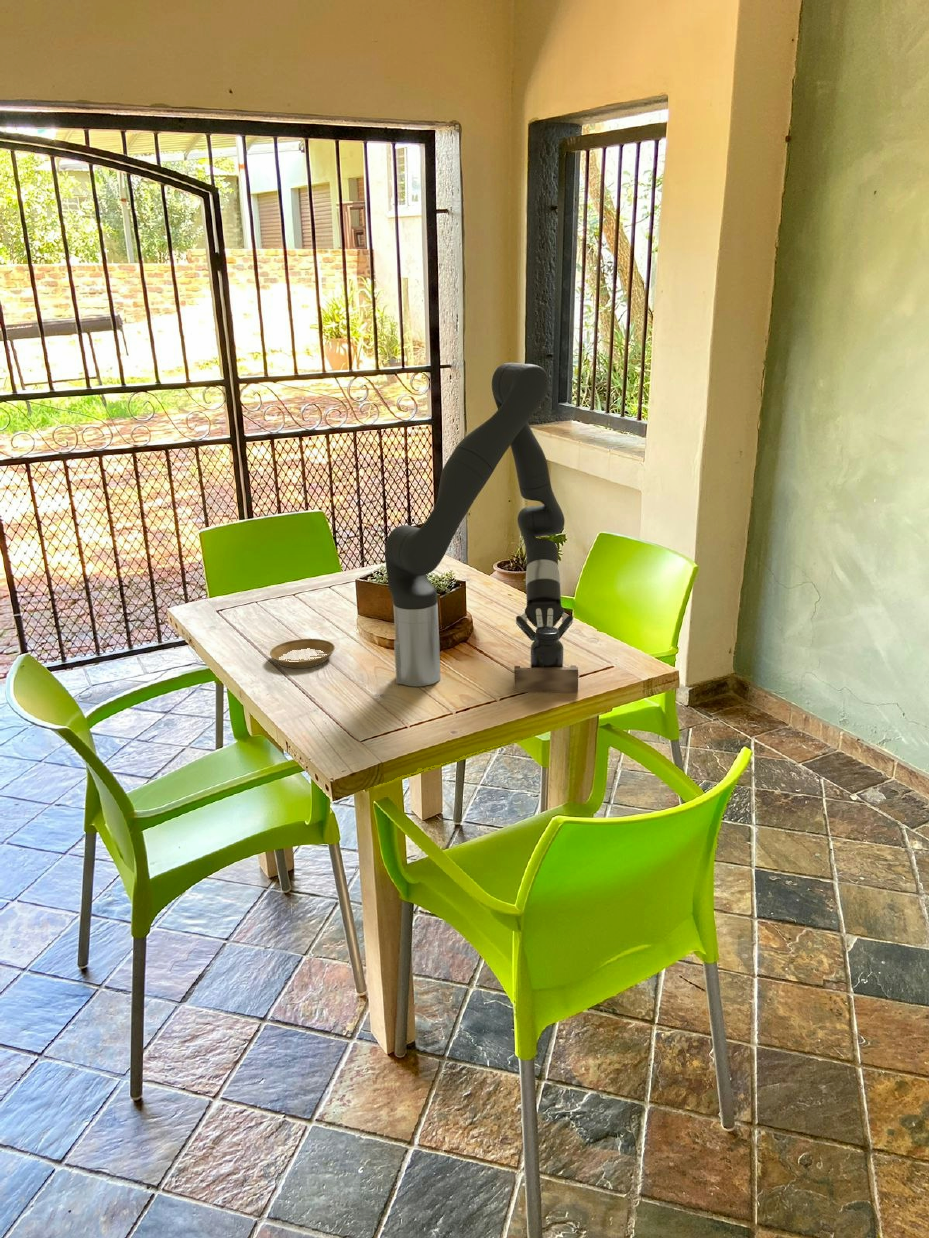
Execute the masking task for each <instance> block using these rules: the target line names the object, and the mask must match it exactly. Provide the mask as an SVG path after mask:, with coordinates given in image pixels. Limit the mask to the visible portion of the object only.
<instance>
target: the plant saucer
mask: <svg viewBox="0 0 929 1238" xmlns="http://www.w3.org/2000/svg"><path fill="white" fill-rule="evenodd" d="M307 648H310V649H315V650H321V651H323V652H324V653H319V654H327V655H325V656H324V655H323V656H322V655H317V656H310V657H321V658H316V659H315V658H314V659H310V660H309V659H308V660H304V659H301V660H300V659H299V660H291V659H287V661H286V659H285V660H279V657H281V656H283V654H287V653H288V652H290V651H292V650H301V649H307ZM335 649H336V647H335V645H334V643H333V642H331V641H330V640H325V639H320V638H300V639H299V638H298V639H294V640H289V641H286V642H282V643H280V644H277V645H276V646H274V647H272V648H271V650H270V652H269V656H270V657H271V659H273V660H274V661H275V662H277V664H279V665H281V666H282V667H284V668H288V667H290V668H289V669H306V668H305V667H307V668H312V666H313V667H316V666H318V665H321V664H323V663H325V662H326V661H327V660H328V659H329V658H330V657H331V656H332V654H333V653H334V651H335ZM317 654H318V653H317ZM288 660H289V661H299V662H289V661H288ZM324 661H325V662H324Z"/></svg>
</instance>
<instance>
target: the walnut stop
mask: <svg viewBox="0 0 929 1238" xmlns="http://www.w3.org/2000/svg"><path fill="white" fill-rule="evenodd" d="M513 668H514V669H513V670H514V672H513V673H514V674H513V675H514V678H513V679H514V693H578V692H579V667H577V665H570V667H569V666H568V667H564V666H563V667H550V668H530V667H521V665H514V666H513ZM560 691H561V692H560ZM577 691H578V692H577Z"/></svg>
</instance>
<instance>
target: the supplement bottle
mask: <svg viewBox="0 0 929 1238" xmlns="http://www.w3.org/2000/svg"><path fill="white" fill-rule="evenodd" d="M535 633H536V636H535V638H536V640H535V641H532V643H531V645H530V664H529V665H530V666H529V668H550V667H564V644H563V643H562V642H561V641H560V639H559V630H558V627H556V626H554V627H550V626H545V627H539V628H537V627H536V629H535Z"/></svg>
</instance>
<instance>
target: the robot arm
mask: <svg viewBox="0 0 929 1238" xmlns="http://www.w3.org/2000/svg"><path fill="white" fill-rule="evenodd" d="M549 385H550V383H549V375H548V373H547V372H546V370H545V369H544V368H543V367H541V366H539V365H537V364H532V363H520V362H506V363H502V364H500V365H499V366H498V367H497V368H496V369H495V371H494V372H493V375H492V379H491V391H492V395H493V399H494V402H495V405H496V407H497V411H496V412H495V413H494V414H493V415H492V416H491V417H489V419H487V420H486V421H485V422H483V423H482V424H480V425H479V426H478V427H476V428H475V429H473V430H472V431H471V432H470V433H468V434H467V435H466V436H465V437H464V438H462V439H461V441H460V442H459V443H458V444H457V445H456V447H455V449H454V450H453V451H452V452H451V455H450V456H449V458H448V460H446V462H445V464H444V466H443V468H442V470H441V473H440V480H439V485H438V486H439V487H438V494H437V499H436V503H435V504H434V507H433V509H432V510H431V512H430V513H429V516H428V517H427V518H426V520H425V522H424V523H423V524H422V526H420V527H416V526H412V525H408V524H407V525H406V524H403V525H399V526H397V527H395V528H394V529H393V530H392V531H390V533H389V535H388V537H387V539H386V542H385V548H384V556H385V557H384V559H385V570H386V577H387V585H388V589H389V592H390V594H391V597H392V605H393V618H394V619H393V620H394V637H395V638H394V642H393V647H394V648H393V649H394V650H393V652H394V663H395V664H394V665H395V667H394V668H395V681H396V682H395V683H396V684H397V685H398V684H399V685H404V686H408V687H425V686H430V685H434V684H436V683H438V682H439V680H441V677H442V676H441V657H440V654H441V653H440V634H439V630H440V629H439V613H438V612H439V609H438V608H439V607H438V593H437V592H438V591H437V588H436V587H435V586H434V585H433V584H432V582H431V581H430V579H429V578H428V576H427V575H429V574H431V573H432V572H433V571H435V569H437V568H438V566H439V565H440V563H441V562H442V560H443V558H444V556H445V555H446V553H447V551H448V548H449V547H450V544H451V543H452V541H453V539H454V537H455V534H456V533H457V531H458V529H459V527H460V525H461V523H462V522H463V520H464V518H465V517H466V515H467V514H468V512H469V510H470V509H471V507H472V505H473V503H475V500H476V498H477V497H479V496H478V495H479V494H480V492H481V491H482V490H483V488H484V487H485V485H486V484H487V482H488V481H489V479H490V478H491V476H492V474H493V473H494V471H495V469H496V468H497V465H498V464H499V462H500V461H501V459H502V458H503V457H504V455H505V454H506V452H507V451H508V449H509V448H510V449H511V453H512V456H513V460H514V465H515V471H516V477H517V481H518V487H519V491H520V492H519V494H520V496H521V497H522V498H523V499H524V500H527V501H535V502H540V503H541V504H540V505H533V506H526V507H523V508H521V510H520V511H519V512H518V515H517V525H518V528H519V532H520V534H521V536H522V539H523V542H524V547H525V553H526V555H525V556H526V557H525V558H526V573H525V592H526V595H525V596H526V597H525V598H526V607H525V609H524V613H522V614H520V615H517V616H516V617H515V624H516V626H518V627H519V629H520V630H521V631H522V632H523V633H524V634H525V635H526V636H527V638H528V639H529V640H530V641H532V642H534V641H535V640H536V638H535V636H536V631H535V630H534V629H533V628H532V627H531V626H530V625H529V623H528V621H529V622H530V623H531V625H532V626H533V627H535V628H536V629H537V628H539V627H545V626H550V627H556V625H557V624H558V622H559V621H560V620H561V624H560V626H558V627H557V629H558V630H559V640H561V638H562V637H563V635H564V634H565V633H566V632H567V630H568V629H569V628H570V626H571V625H572V624H573V622H574V615H573V614H567V613H566V612H565V611H564V610H565V609H564V607H563V605H562V595H561V593H562V592H561V576H560V575H561V573H560V569H559V552H558V551H559V550H558V546H557V543H556V542H554V541H553V540H550V539H547V538H541V537H545V536H546V537H547V536H555V535H559V534H560V533H562V532H563V529H564V527H565V516H564V513H563V511H562V509H561V506H560V505H559V502H558V500H557V498H556V496H555V493H554V492H553V488H552V483H551V479H550V478H551V477H550V472H549V466H548V461H547V458H546V455H545V452H544V450H543V448H542V446H541V445H540V443H539V441H538V440H537V438H536V436H535V435H534V433H533V430H532V429H531V426H530V424H529V420H531V418H532V417H533V415H534V414H535V413H536V412H537V411H538V410H539V408H540V407H541V405H542V403H543V402H544V400H545V398H546V396H547V393H548V391H549ZM538 537H540V538H538Z"/></svg>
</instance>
